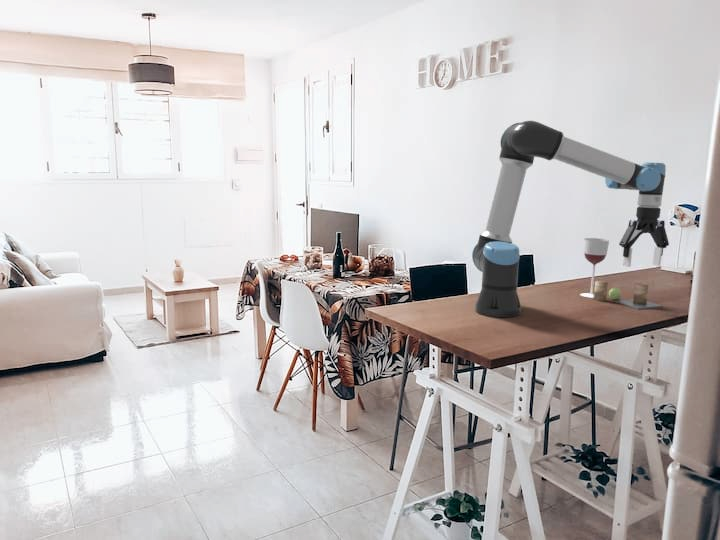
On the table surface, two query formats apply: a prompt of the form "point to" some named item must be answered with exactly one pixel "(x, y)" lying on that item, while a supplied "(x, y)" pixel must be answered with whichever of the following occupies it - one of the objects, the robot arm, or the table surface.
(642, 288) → the cork
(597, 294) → the cork
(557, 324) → the table surface
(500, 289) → the robot arm
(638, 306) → the coaster
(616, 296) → the lime
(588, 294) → the wineglass
